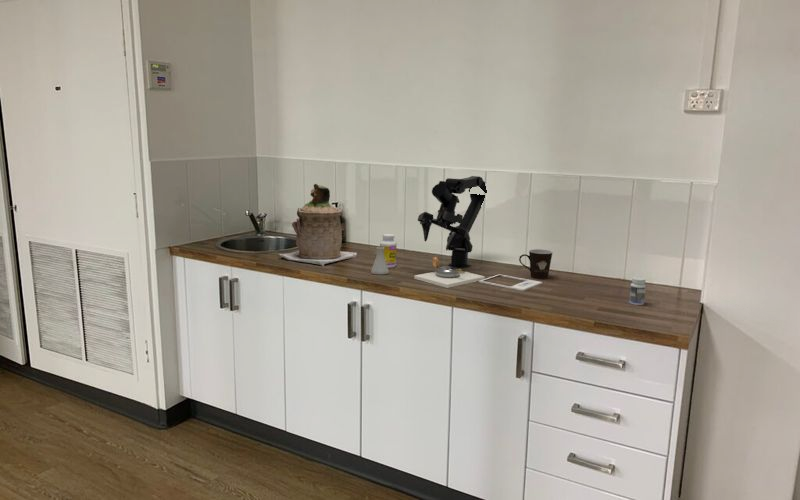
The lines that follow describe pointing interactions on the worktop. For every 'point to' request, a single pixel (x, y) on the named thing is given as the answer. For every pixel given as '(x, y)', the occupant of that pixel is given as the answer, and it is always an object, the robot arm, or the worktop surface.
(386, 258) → the supplement bottle
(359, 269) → the worktop surface
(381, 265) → the flask
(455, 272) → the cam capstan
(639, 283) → the pill bottle
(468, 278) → the stand
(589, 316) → the worktop surface
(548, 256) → the coffee mug
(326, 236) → the cookie jar
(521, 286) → the photo frame
